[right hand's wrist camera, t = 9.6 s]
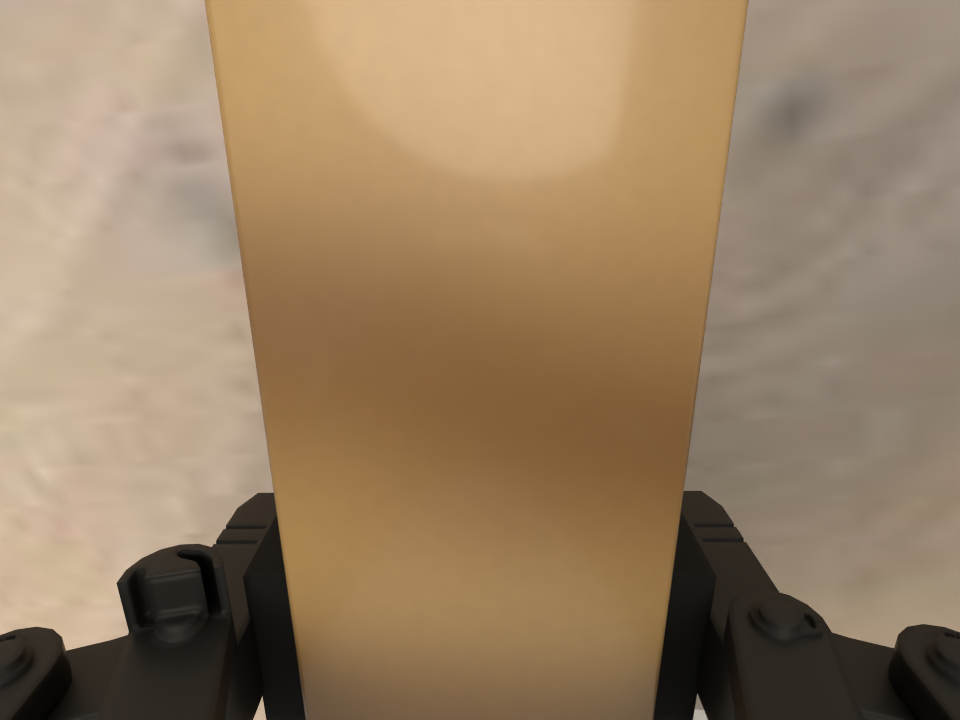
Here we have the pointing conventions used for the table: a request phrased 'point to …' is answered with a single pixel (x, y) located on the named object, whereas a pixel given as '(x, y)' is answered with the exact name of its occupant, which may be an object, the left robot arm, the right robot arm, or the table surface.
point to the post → (477, 333)
